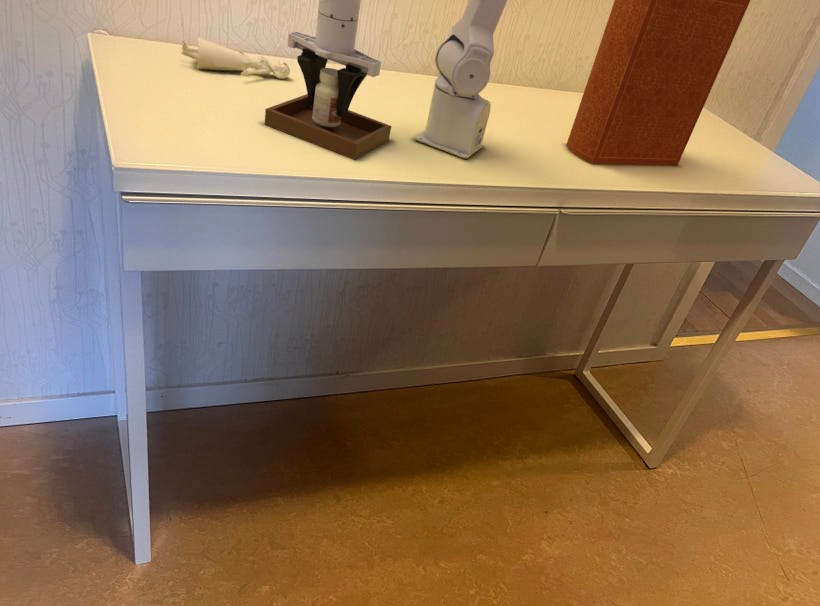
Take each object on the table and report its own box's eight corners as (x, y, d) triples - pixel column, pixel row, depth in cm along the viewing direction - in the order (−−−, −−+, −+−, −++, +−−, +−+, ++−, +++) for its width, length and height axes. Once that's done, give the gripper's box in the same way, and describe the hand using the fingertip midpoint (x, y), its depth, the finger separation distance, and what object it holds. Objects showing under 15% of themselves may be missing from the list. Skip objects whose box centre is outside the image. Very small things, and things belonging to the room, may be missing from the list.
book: (650, 148, 140) (717, -15, 123) (677, 165, 135) (751, -2, 117) (561, 144, 129) (620, -35, 112) (587, 164, 124) (653, -21, 106)
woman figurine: (183, 25, 119) (289, 49, 126) (181, 51, 122) (285, 74, 129) (181, 45, 111) (294, 70, 118) (179, 73, 113) (290, 96, 120)
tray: (389, 140, 111) (391, 125, 110) (354, 159, 102) (356, 144, 101) (305, 108, 114) (306, 93, 113) (264, 124, 105) (265, 108, 104)
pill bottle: (335, 130, 106) (341, 79, 102) (307, 122, 106) (313, 70, 102) (344, 122, 110) (350, 72, 105) (317, 114, 110) (323, 64, 105)
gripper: (279, 2, 97) (272, 99, 105) (370, 34, 94) (356, 131, 102) (305, -2, 103) (297, 90, 111) (392, 28, 100) (378, 120, 108)
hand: (327, 109), depth 107 cm, fingers closed on pill bottle, 4 cm apart
